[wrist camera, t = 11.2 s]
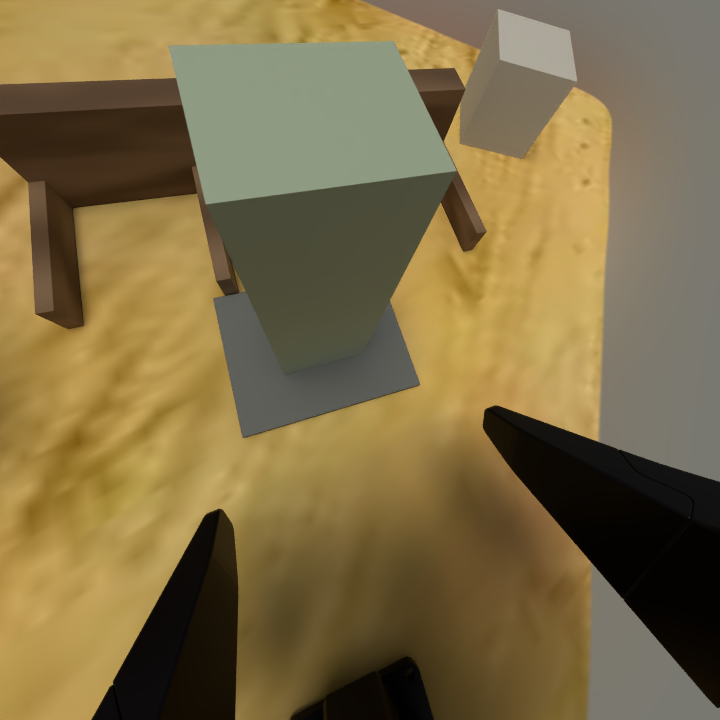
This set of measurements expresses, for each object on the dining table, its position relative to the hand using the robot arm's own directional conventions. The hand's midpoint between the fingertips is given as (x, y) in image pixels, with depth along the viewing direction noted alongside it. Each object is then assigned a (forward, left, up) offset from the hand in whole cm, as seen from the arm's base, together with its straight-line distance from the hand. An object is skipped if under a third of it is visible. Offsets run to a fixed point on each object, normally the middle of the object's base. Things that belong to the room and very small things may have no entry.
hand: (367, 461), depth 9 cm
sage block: (+7, 0, -8) cm, 11 cm away
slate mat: (+7, 0, -8) cm, 11 cm away
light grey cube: (+23, -21, -8) cm, 33 cm away
